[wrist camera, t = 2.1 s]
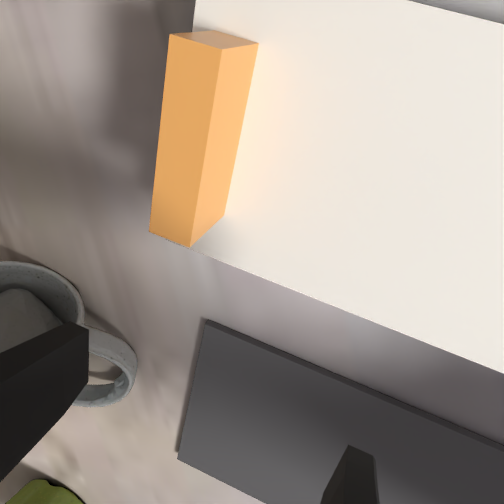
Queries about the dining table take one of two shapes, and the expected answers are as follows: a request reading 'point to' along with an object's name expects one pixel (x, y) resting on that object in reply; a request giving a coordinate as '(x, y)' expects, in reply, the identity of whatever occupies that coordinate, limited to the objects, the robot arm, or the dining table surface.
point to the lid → (344, 159)
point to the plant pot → (43, 494)
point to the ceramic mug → (58, 324)
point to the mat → (321, 431)
